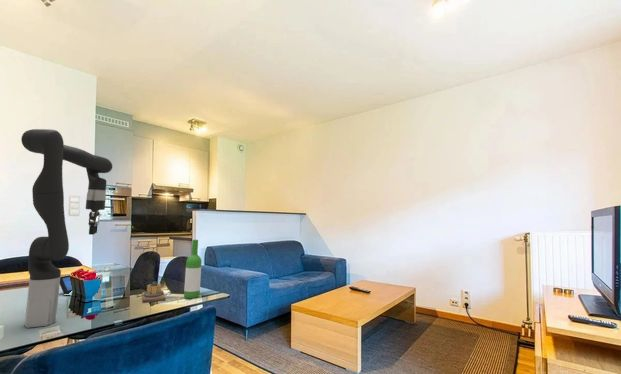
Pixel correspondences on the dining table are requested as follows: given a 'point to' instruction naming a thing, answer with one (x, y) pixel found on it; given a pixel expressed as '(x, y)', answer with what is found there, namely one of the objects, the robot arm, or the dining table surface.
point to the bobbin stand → (153, 296)
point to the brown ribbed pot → (153, 289)
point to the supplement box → (98, 295)
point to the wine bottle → (193, 273)
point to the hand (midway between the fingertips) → (92, 233)
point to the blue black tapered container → (65, 284)
